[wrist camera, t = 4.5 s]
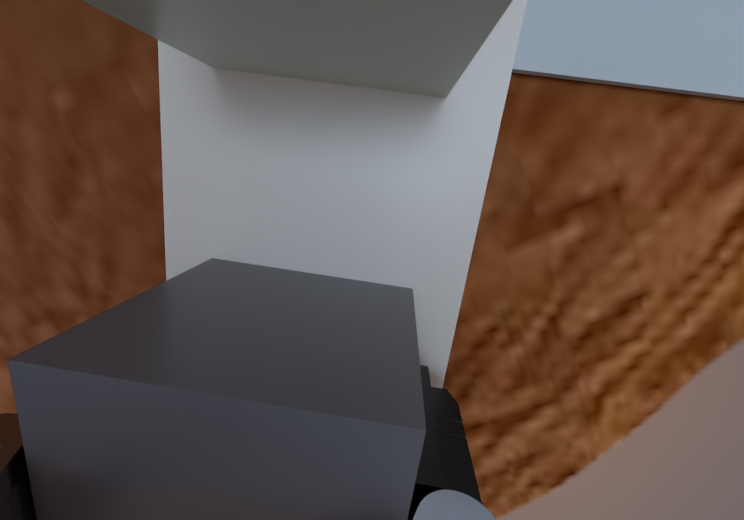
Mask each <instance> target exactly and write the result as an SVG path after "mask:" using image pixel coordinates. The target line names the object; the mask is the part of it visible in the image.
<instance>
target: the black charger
mask: <svg viewBox="0 0 744 520" xmlns="http://www.w3.org/2000/svg"><path fill="white" fill-rule="evenodd" d="M8 364H9V370H10V375H11V381H12V386H13V392H14V397H15V403H16V408H17V414H18V419H19V425H20V430H21V436H22V441H23V447H24V452H25V458H26V463H27V469H28V474H29V480H30V485H31V491H32V496H33V502H34V507H35V512H36V518H37V520H407V519H408V514H409V509H410V505H411V500H412V495H413V490H414V486H415V481H416V476H417V472H418V467H419V462H420V458H421V453H422V448H423V444H424V439H425V434H426V423H425V412H424V402H423V391H422V381H421V370H420V360H419V349H418V339H417V328H416V318H415V307H414V297H413V289H412V288H405V287H399V286H392V285H386V284H379V283H373V282H366V281H359V280H353V279H346V278H340V277H333V276H327V275H320V274H313V273H307V272H300V271H294V270H287V269H281V268H274V267H267V266H261V265H254V264H248V263H241V262H235V261H228V260H221V259H215V258H211V259H209V260H207V261H205V262H203V263H201V264H199V265H197V266H195V267H193V268H191V269H189V270H187V271H185V272H183V273H181V274H179V275H177V276H175V277H173V278H171V279H169V280H167V281H165V282H163V283H161V284H159V285H157V286H155V287H153V288H151V289H149V290H147V291H145V292H143V293H141V294H139V295H137V296H135V297H133V298H131V299H129V300H127V301H125V302H123V303H121V304H119V305H117V306H115V307H113V308H111V309H109V310H107V311H105V312H103V313H101V314H99V315H97V316H95V317H93V318H91V319H89V320H87V321H85V322H83V323H81V324H79V325H77V326H75V327H73V328H71V329H69V330H67V331H65V332H63V333H61V334H58V335H56V336H54V337H52V338H50V339H48V340H46V341H44V342H42V343H40V344H38V345H36V346H34V347H32V348H30V349H28V350H26V351H24V352H22V353H20V354H18V355H16V356H14V357H12V358H10V359H8Z"/></svg>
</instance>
